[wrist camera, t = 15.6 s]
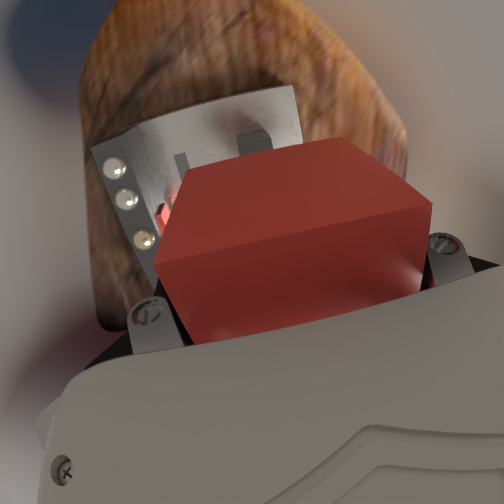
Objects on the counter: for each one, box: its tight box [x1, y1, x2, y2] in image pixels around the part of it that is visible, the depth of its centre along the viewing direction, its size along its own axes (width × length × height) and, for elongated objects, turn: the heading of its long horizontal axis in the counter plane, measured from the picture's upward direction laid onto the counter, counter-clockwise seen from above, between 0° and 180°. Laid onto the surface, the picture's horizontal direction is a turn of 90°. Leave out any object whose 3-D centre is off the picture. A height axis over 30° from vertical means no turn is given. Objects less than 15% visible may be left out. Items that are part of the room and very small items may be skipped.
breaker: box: [236, 130, 273, 156], centre depth 22 cm, size 2×2×3 cm
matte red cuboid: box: [153, 137, 432, 344], centre depth 10 cm, size 6×6×6 cm
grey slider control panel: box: [91, 84, 303, 291], centre depth 25 cm, size 18×15×8 cm
